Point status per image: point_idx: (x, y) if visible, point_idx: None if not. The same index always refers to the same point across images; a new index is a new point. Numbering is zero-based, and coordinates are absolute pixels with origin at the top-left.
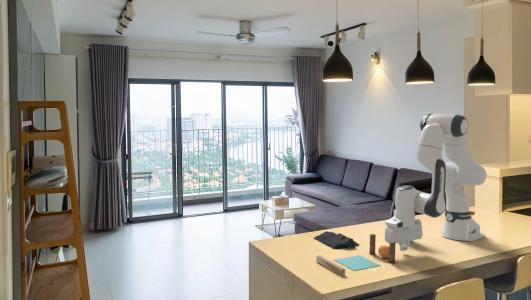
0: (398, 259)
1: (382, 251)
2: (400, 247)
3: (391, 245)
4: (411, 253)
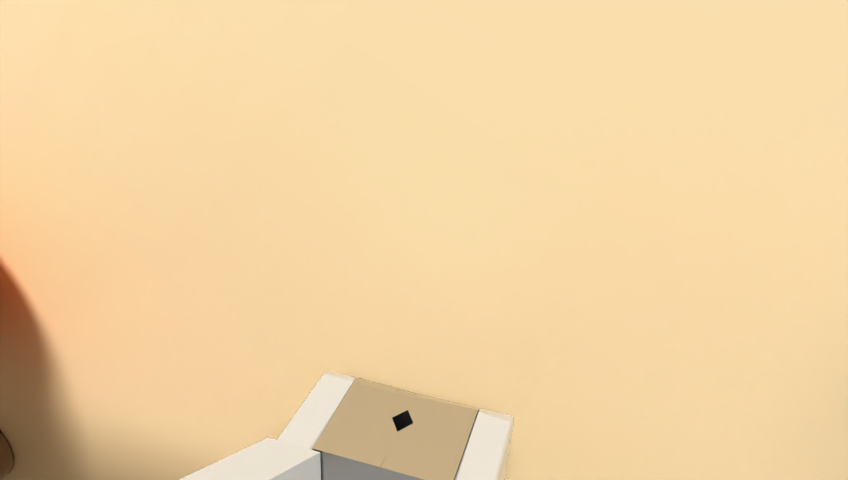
0: (134, 443)
1: None
2: (291, 437)
3: None
4: (653, 463)
